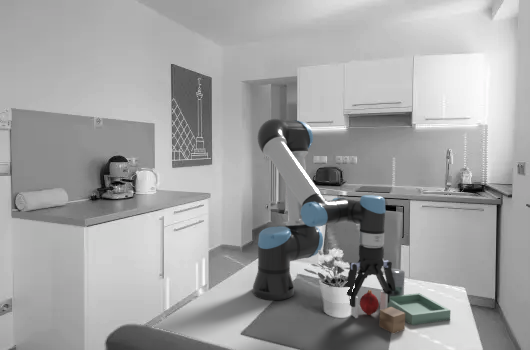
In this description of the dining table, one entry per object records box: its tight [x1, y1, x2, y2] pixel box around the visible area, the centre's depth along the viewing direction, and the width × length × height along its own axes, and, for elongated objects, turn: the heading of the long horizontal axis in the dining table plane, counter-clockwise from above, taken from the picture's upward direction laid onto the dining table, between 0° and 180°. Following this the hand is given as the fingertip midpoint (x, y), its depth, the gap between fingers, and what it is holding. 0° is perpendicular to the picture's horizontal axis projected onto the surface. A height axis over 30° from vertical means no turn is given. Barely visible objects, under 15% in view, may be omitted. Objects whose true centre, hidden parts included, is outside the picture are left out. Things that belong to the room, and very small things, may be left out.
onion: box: [359, 289, 380, 316], centre depth 112 cm, size 6×6×8 cm
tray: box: [387, 292, 451, 326], centre depth 114 cm, size 14×14×3 cm
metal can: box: [386, 268, 406, 296], centre depth 125 cm, size 6×6×10 cm
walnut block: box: [378, 307, 406, 334], centre depth 104 cm, size 5×5×5 cm
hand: (369, 314), depth 112 cm, fingers open, 10 cm apart
